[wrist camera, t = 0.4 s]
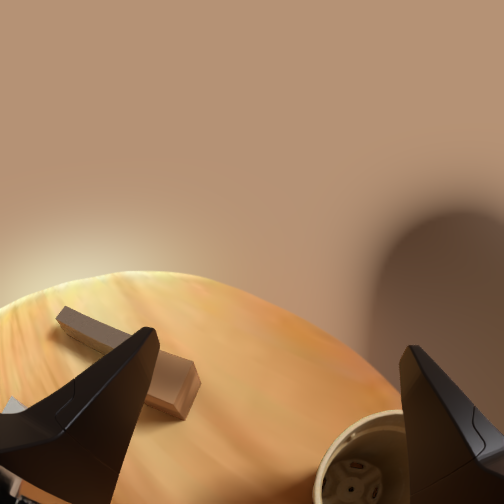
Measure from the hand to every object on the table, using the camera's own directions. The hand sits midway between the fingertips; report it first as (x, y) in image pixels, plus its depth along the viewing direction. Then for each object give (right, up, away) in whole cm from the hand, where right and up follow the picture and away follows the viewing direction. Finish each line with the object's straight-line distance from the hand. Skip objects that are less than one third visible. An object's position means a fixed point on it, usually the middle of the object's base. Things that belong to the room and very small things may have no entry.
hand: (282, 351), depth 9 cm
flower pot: (+7, -16, +7) cm, 18 cm away
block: (-8, -10, +14) cm, 19 cm away
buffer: (-17, -6, +17) cm, 25 cm away
